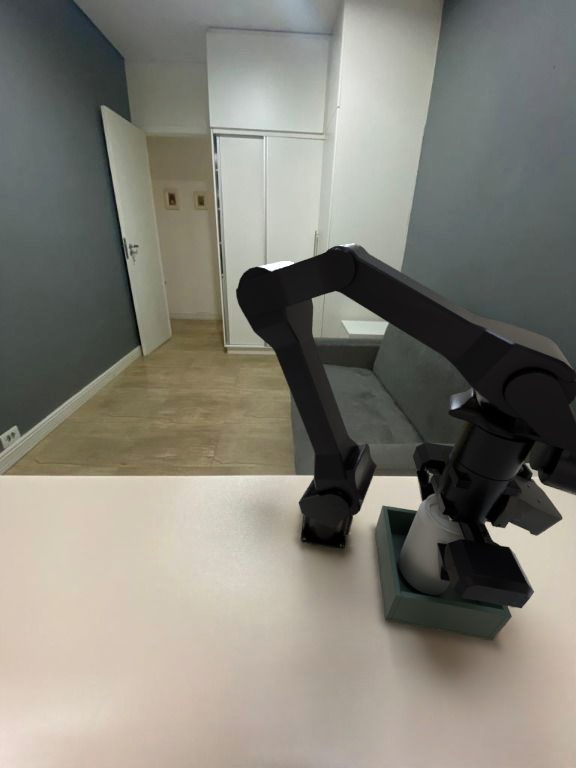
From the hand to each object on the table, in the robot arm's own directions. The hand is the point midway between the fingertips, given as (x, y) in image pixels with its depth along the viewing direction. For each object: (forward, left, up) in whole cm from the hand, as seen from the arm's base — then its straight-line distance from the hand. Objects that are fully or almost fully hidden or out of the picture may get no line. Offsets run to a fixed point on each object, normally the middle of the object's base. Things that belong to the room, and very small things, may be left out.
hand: (436, 551), depth 39 cm
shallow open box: (0, 0, -6) cm, 6 cm away
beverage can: (-1, 0, -5) cm, 5 cm away
